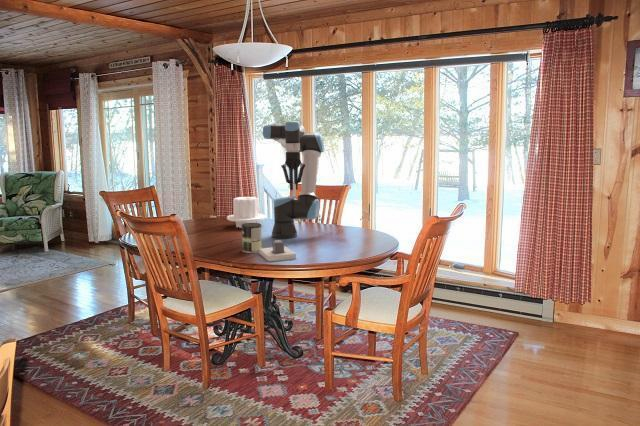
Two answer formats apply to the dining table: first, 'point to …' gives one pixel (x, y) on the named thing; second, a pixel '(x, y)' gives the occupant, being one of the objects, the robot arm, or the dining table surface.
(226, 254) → the dining table surface
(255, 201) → the ribbed cylinder on disc
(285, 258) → the socket plate
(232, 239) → the dining table surface
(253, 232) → the coffee can
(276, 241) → the plug
